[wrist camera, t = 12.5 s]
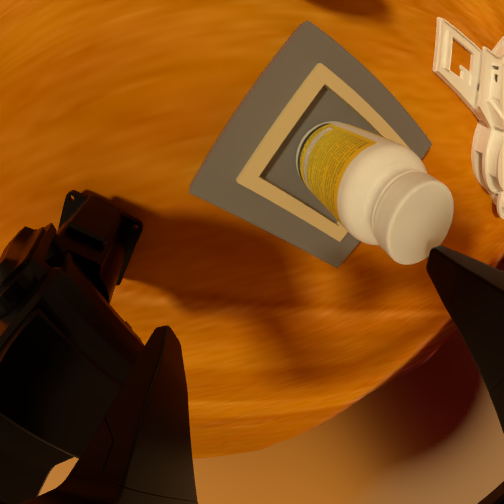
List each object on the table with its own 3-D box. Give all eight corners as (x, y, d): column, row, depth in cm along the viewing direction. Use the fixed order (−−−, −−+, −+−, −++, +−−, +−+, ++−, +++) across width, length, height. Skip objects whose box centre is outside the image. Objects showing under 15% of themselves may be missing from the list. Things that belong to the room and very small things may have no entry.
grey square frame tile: (331, 258, 24) (340, 272, 23) (190, 185, 19) (188, 196, 17) (421, 139, 19) (436, 145, 17) (300, 24, 13) (311, 18, 11)
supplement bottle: (295, 198, 19) (362, 289, 11) (291, 121, 16) (380, 162, 8) (361, 190, 19) (447, 265, 11) (364, 120, 16) (473, 163, 8)
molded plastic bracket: (528, 65, 13) (551, 71, 10) (499, 212, 27) (519, 228, 23) (432, -33, 9) (462, -39, 5) (402, 184, 22) (432, 204, 18)
